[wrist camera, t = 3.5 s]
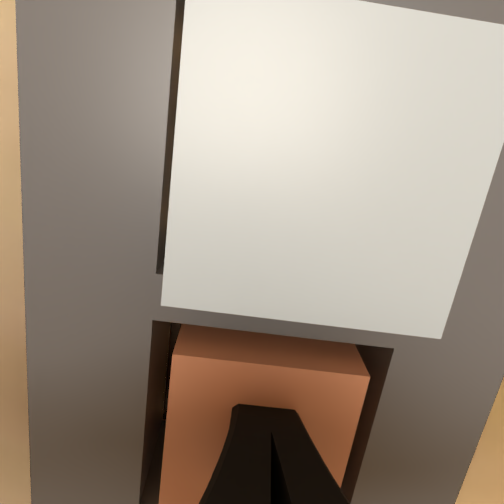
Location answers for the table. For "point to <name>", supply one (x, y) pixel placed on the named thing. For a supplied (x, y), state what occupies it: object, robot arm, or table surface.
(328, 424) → the key terracotta
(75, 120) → the grey slotted tray
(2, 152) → the table surface
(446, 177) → the white square block
